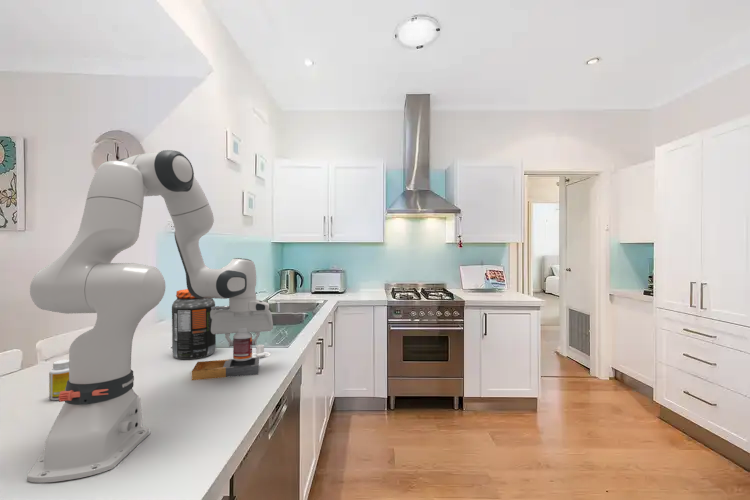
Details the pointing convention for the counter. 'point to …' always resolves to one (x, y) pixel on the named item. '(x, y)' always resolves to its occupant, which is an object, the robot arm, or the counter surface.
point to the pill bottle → (242, 345)
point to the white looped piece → (260, 351)
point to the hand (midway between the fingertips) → (242, 345)
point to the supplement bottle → (58, 378)
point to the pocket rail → (225, 368)
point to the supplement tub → (192, 326)
